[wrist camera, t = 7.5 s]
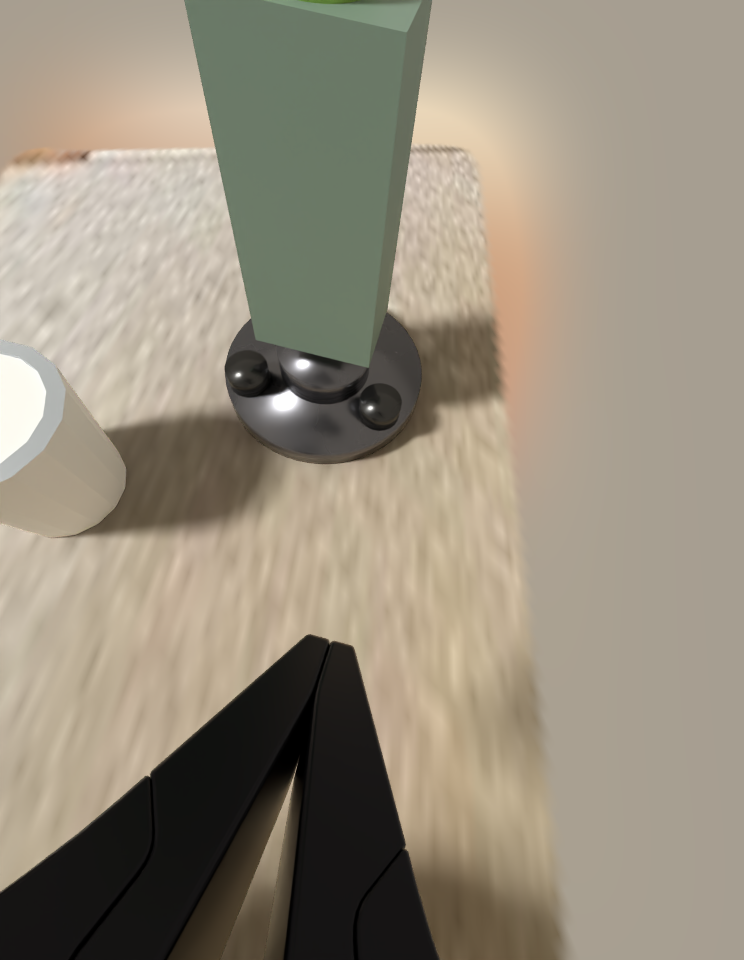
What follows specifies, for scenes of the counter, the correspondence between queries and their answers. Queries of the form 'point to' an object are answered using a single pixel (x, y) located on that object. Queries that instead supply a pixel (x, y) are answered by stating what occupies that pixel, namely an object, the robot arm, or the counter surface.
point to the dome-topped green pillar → (313, 156)
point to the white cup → (51, 451)
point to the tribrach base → (323, 396)
